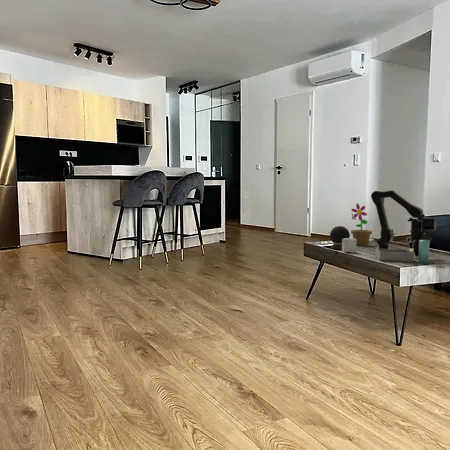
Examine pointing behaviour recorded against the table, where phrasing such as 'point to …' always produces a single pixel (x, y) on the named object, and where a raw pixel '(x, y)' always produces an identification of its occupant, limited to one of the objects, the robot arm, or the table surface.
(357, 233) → the flowerpot
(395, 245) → the table surface
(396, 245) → the table surface
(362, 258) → the table surface
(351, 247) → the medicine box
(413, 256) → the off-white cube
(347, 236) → the black round ball shape
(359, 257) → the table surface
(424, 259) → the teal tin
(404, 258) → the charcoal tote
